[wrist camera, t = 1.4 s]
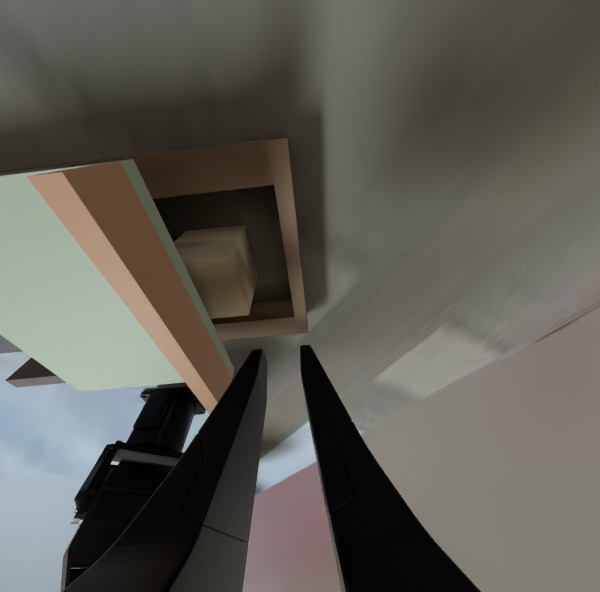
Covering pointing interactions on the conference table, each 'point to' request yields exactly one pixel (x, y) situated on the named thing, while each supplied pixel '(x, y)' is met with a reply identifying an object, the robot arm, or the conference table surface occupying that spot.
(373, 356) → the conference table surface
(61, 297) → the sliding cover
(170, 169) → the wooden box
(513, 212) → the conference table surface
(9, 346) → the charcoal mat
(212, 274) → the beech block
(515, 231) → the conference table surface
